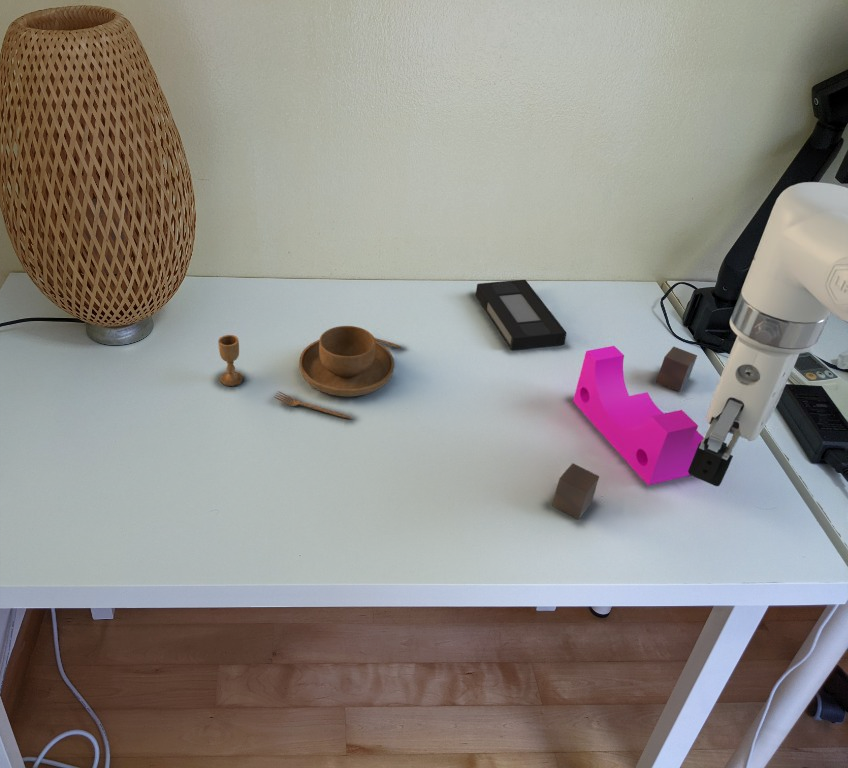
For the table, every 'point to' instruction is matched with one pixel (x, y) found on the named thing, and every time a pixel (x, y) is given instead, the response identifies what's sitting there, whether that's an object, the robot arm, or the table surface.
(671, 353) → the brown cubes
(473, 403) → the table surface
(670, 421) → the toy block
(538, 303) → the vhs tape
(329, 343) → the place setting
